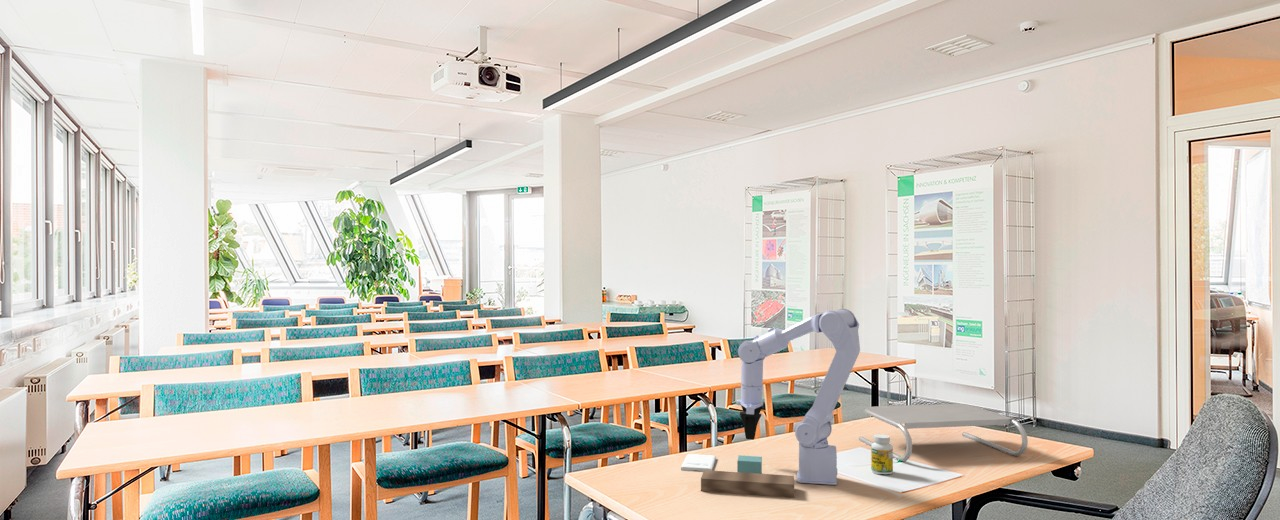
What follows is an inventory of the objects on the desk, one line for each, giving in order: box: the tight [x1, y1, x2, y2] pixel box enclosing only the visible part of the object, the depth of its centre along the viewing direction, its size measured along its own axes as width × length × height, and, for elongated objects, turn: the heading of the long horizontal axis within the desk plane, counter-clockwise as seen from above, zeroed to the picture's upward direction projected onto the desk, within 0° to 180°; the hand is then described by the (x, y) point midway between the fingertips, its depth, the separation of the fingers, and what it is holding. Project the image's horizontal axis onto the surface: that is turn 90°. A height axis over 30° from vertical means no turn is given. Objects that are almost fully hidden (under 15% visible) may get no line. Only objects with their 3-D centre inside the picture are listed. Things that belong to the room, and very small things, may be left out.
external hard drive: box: [680, 453, 717, 473], centre depth 192 cm, size 2×8×12 cm
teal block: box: [736, 455, 763, 474], centre depth 183 cm, size 6×5×4 cm
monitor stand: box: [858, 403, 1029, 462], centre depth 209 cm, size 37×28×11 cm
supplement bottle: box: [870, 433, 894, 475], centre depth 186 cm, size 5×5×10 cm
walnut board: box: [700, 470, 795, 498], centre depth 171 cm, size 22×7×3 cm, turn 79°
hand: (750, 435), depth 190 cm, fingers open, 7 cm apart
